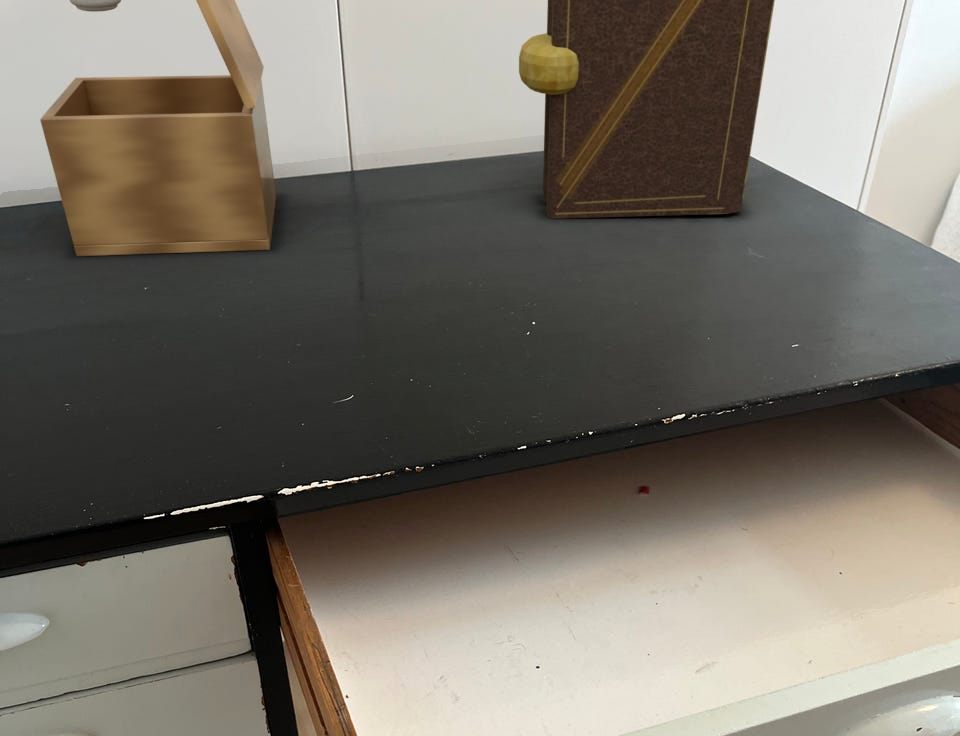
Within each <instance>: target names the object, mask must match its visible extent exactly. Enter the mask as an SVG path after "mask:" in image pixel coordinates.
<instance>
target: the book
mask: <svg viewBox="0 0 960 736" xmlns="http://www.w3.org/2000/svg"><path fill="white" fill-rule="evenodd" d="M775 1H776V0H547V12H546V13H547V15H546V33H541V34H536V35H534V36H531V37H530V38H528V39H527V40H526V41H525V42H524V43H523V44H522V45H521V47H520V51H519V54H518V75H519V77H520V81H521V82H522V83H523V84H524V85H525V86H526V87H527V88H528V89H529V90H531V91H533V92H536V93H540V94H544V126H543V127H544V129H543V130H544V133H543V164H542V165H543V166H542V167H543V168H542V169H543V171H542V202H543V203H544V204H546V211H545V212H546V213H545V215H546V216H547V217H546V218H548V219H552V220H553V219H554V220H555V219H585V218H587V219H588V218H589V219H590V218H623V217H624V218H625V217H655V216H656V217H658V216H691V215H693V216H695V215H725V214H727V215H728V214H732V213H739V212H740V211H741V210H742V207H743V203H744V197H745V190H746V184H747V177H748V171H749V164H750V158H751V153H752V147H753V146H752V145H753V140H754V133H755V126H756V121H757V116H758V115H757V114H758V109H759V101H760V96H761V90H762V83H763V77H764V70H765V65H766V59H767V51H768V44H769V39H770V33H771V25H772V22H773V21H772V19H773V13H774V7H775Z"/></svg>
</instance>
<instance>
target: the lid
mask: <svg viewBox="0 0 960 736" xmlns="http://www.w3.org/2000/svg"><path fill="white" fill-rule="evenodd" d="M195 1H196V3H197V5H198V8H199V10H200V12H201V14H202V17H203V19H204V20H205V23H206V25H207V27H208V29H209V32H210V34H211V36H212V39H213V40H214V42H215V44H216V47H217V50H218V51H219V54H220V55H221V58H222V60H223V63H224V64H225V66H226V68H227V70H228V73H229V75H231V77H232V79H233V82H234V84H235V86H236V88H237V90H238V92H239V95H240V97H241V99H242V101H243V103H244V106H245V108H246V110H249V109H251V108H253V107H255V105H256V100H257V96H258V91H259V87H260V82H261V80H262V77H263V72H264V64H263V62H262V59H261V57H260V55H259V52H258V49H257V48H256V45H255V44H254V41H253V39H252V36H251V34H250V32H249V30H248V27H247V25H246V22H245V21H244V18H243V15H242V14H241V11H240V9H239V7H238V4H237V2H236V0H195Z"/></svg>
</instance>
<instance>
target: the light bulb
mask: <svg viewBox="0 0 960 736" xmlns="http://www.w3.org/2000/svg"><path fill="white" fill-rule="evenodd" d="M69 2H70V3H71V5H73V6H75V7H76V9H78V10H79V11H82V12H92V13H93V12H96V13H97V12H108V11H112V10H115V9H116V8H118V5H119V4H120V3H121V2H122V0H69Z"/></svg>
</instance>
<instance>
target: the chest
mask: <svg viewBox="0 0 960 736" xmlns="http://www.w3.org/2000/svg"><path fill="white" fill-rule="evenodd" d="M264 97H265V96H264V89H263V81H262V79H261V82H260V87H259V91H258V96H257V100H256V105H255V107H253V108H251V109H249V110H246V108H245V106H244V103H243V101H242V99H241V97H240V95H239V92H238V90H237V88H236V86H235V84H234V82H233V79H232V77H231V75H230V74H223V75H222V74H219V75H216V74H215V75H163V76H162V75H161V76H159V75H158V76H108V77H107V76H104V77H100V76H99V77H97V76H96V77H94V76H93V77H75V78H74V79H73V80H72V81H71V82H70V83H69V85H68V86H67V87H66V88H65V89H64V90H63V92H62V93H61V94H60V95H59V97H57V98H56V100H55V101H54V102H53V103H52V104H51V106H50V107H49V108H48V109H47V110H46V112H45V113H44V114H43V115H42V116H41V118H40V124H41V128H42V132H43V136H44V139H45V144H46V147H47V152H48V155H49V158H50V162H51V165H52V170H53V174H54V176H55V181H56V185H57V188H58V191H59V195H60V199H61V204H62V207H63V210H64V215H65V218H66V222H67V225H68V230H69V233H70V236H71V240H72V244H73V248H74V253H75V256H76V257H93V256H94V257H96V256H99V257H100V256H128V255H129V256H130V255H152V254H184V253H188V254H189V253H214V252H215V253H217V252H244V251H246V252H247V251H270V250H271V245H272V238H273V237H272V235H273V226H274V219H275V211H276V201H277V192H276V191H277V190H276V184H275V183H276V182H275V176H274V169H273V168H274V167H273V159H272V153H271V145H270V137H269V128H268V120H267V112H266V105H265V98H264Z"/></svg>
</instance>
